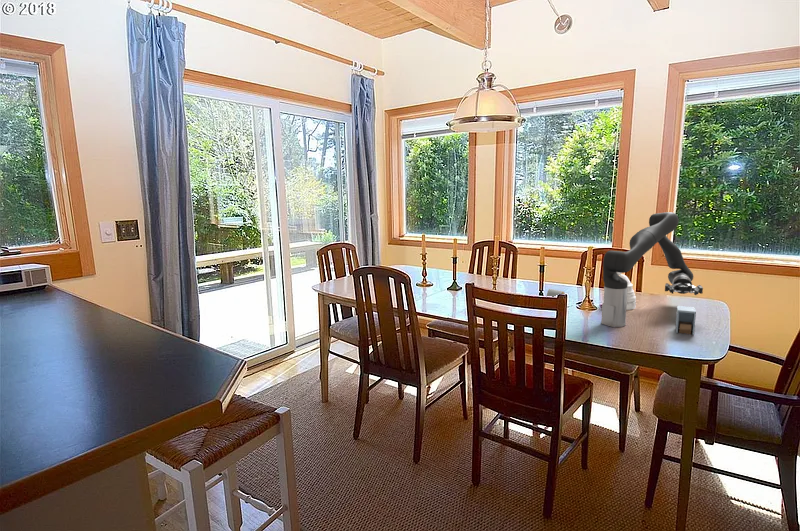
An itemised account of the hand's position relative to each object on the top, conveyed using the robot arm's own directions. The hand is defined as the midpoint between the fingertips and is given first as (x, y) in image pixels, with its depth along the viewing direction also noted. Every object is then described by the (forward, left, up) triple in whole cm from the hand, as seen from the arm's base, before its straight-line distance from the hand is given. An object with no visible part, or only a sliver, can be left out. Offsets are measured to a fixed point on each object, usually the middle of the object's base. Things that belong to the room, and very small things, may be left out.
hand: (684, 292), depth 188 cm
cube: (-11, -8, -14) cm, 20 cm away
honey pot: (+1, +31, -14) cm, 35 cm away
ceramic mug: (-20, +55, -14) cm, 60 cm away
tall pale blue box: (-11, -8, -14) cm, 19 cm away
